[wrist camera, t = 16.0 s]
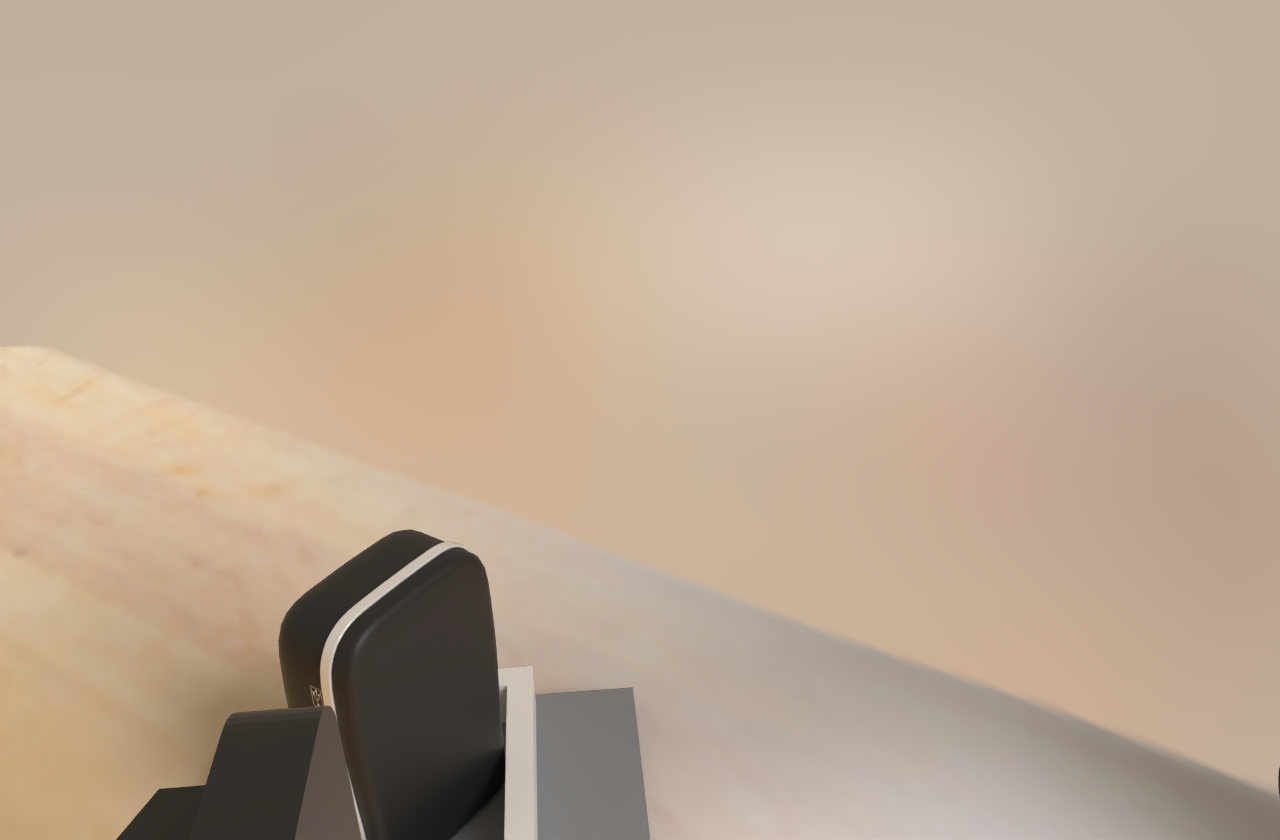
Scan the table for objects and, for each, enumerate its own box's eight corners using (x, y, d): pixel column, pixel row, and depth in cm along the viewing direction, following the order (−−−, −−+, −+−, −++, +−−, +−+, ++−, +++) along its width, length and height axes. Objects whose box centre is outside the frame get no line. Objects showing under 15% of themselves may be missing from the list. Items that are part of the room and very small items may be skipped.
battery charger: (440, 740, 47) (404, 498, 41) (516, 779, 45) (490, 531, 39) (307, 863, 42) (246, 607, 36) (387, 913, 40) (335, 651, 34)
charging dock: (633, 708, 50) (631, 650, 48) (662, 963, 39) (660, 900, 38) (245, 739, 49) (230, 680, 47) (169, 1009, 38) (146, 945, 37)
